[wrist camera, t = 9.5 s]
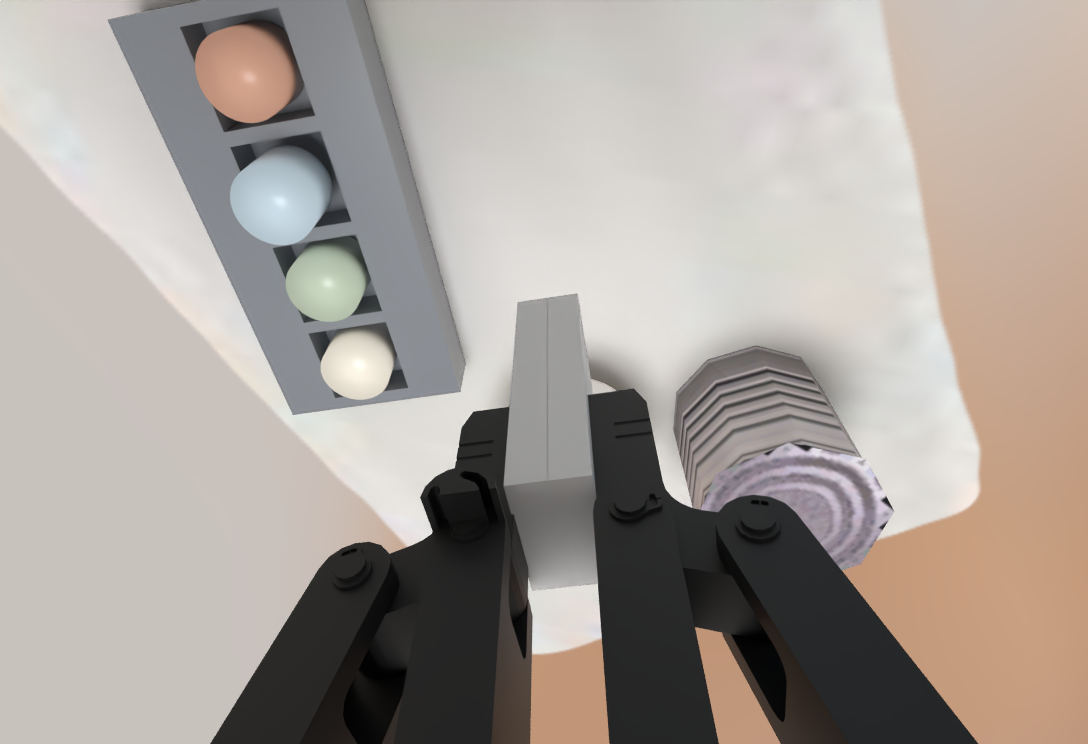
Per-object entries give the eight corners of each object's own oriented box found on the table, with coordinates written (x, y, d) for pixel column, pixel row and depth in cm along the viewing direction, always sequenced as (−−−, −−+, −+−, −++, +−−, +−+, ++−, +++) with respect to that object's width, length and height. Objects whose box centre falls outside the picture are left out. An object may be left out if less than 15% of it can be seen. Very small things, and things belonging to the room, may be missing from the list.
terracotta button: (209, 28, 36) (179, 38, 33) (288, 12, 36) (264, 21, 33) (243, 113, 38) (218, 129, 35) (317, 100, 38) (298, 115, 35)
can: (717, 486, 56) (754, 610, 46) (641, 398, 51) (663, 515, 41) (848, 418, 52) (920, 537, 42) (778, 316, 47) (841, 423, 37)
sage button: (292, 238, 43) (274, 261, 40) (360, 227, 42) (346, 250, 39) (317, 300, 45) (301, 326, 42) (381, 290, 45) (369, 316, 42)
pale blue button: (241, 152, 38) (215, 171, 35) (317, 138, 37) (297, 157, 34) (272, 226, 40) (250, 250, 37) (343, 214, 40) (327, 238, 37)
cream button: (325, 321, 46) (310, 348, 43) (388, 311, 45) (377, 338, 42) (346, 374, 48) (334, 403, 45) (406, 365, 48) (397, 394, 45)
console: (142, 11, 37) (107, 19, 34) (355, -32, 36) (338, -27, 33) (307, 386, 50) (293, 414, 47) (465, 363, 49) (460, 391, 46)
